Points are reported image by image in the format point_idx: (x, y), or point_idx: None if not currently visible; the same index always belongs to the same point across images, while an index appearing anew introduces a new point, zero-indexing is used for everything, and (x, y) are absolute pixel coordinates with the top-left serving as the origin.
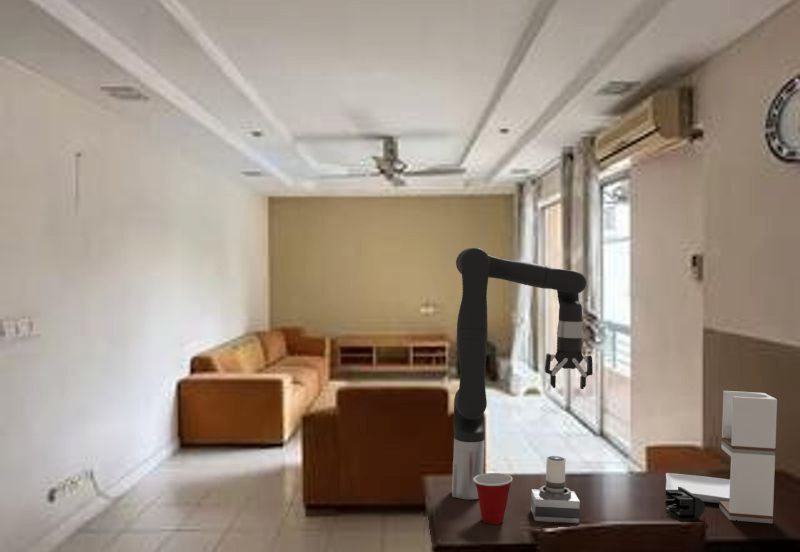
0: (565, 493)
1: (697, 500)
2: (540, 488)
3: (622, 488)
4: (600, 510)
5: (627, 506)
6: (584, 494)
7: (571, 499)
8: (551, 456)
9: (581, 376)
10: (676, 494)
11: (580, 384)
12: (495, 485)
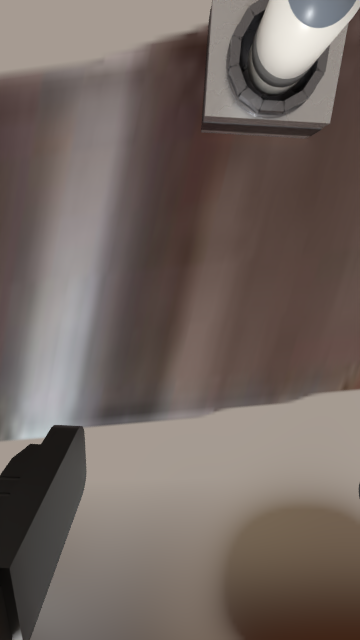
0: (256, 10)
1: None
2: (325, 64)
3: (44, 331)
4: (128, 154)
5: (54, 195)
6: (142, 278)
7: (234, 15)
8: (338, 12)
9: (7, 630)
10: None
11: (71, 507)
12: None
